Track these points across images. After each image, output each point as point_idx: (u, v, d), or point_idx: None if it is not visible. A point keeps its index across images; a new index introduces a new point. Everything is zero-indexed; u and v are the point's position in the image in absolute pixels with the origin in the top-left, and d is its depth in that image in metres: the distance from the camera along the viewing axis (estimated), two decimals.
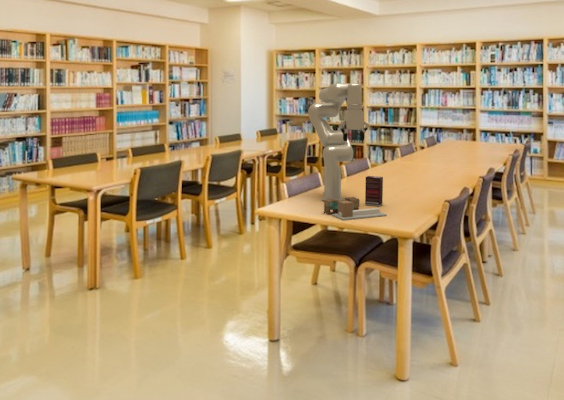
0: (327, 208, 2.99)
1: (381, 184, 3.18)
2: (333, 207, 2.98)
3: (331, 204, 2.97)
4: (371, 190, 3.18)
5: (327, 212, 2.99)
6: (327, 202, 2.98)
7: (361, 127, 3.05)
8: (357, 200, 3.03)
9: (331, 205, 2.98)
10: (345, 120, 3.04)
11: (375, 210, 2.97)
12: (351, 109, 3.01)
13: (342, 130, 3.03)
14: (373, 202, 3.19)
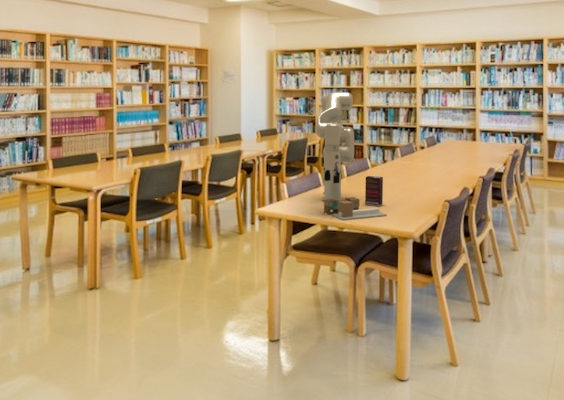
0: (327, 208, 2.99)
1: (381, 184, 3.18)
2: (333, 207, 2.98)
3: (331, 204, 2.97)
4: (371, 190, 3.18)
5: (327, 212, 2.99)
6: (327, 202, 2.98)
7: (331, 169, 2.93)
8: (357, 200, 3.03)
9: (331, 205, 2.98)
10: None
11: (375, 210, 2.97)
12: None
13: (324, 169, 3.03)
14: (373, 202, 3.19)
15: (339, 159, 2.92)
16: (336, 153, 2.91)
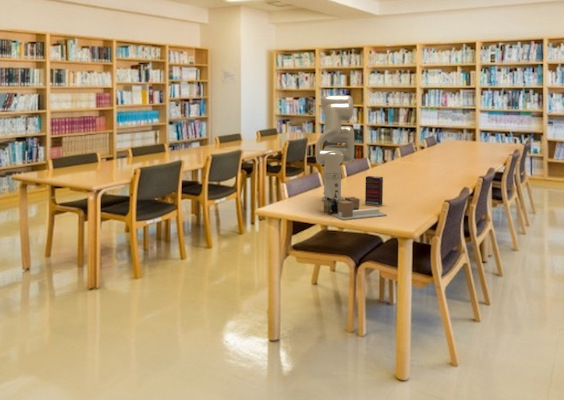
0: (326, 208, 3.00)
1: (381, 184, 3.18)
2: None
3: (331, 204, 2.97)
4: (371, 190, 3.18)
5: (327, 212, 3.00)
6: (327, 202, 2.99)
7: (331, 197, 2.96)
8: (357, 200, 3.03)
9: (331, 205, 2.98)
10: None
11: (375, 210, 2.97)
12: None
13: (325, 198, 3.05)
14: (373, 202, 3.19)
15: (339, 187, 2.95)
16: (336, 181, 2.94)
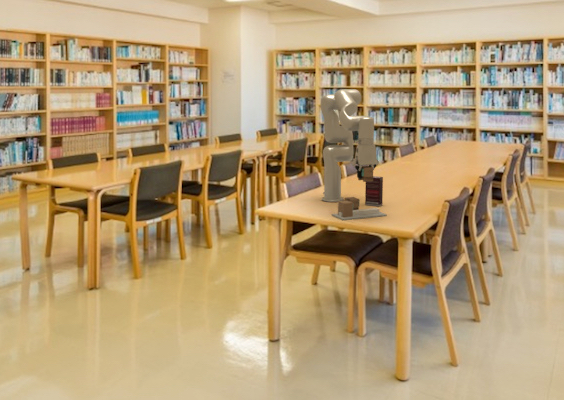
0: None
1: (381, 184, 3.18)
2: None
3: None
4: (371, 190, 3.18)
5: None
6: None
7: None
8: (357, 200, 3.03)
9: None
10: None
11: (375, 210, 2.97)
12: None
13: None
14: (373, 202, 3.19)
15: (358, 153, 2.88)
16: (357, 146, 2.89)
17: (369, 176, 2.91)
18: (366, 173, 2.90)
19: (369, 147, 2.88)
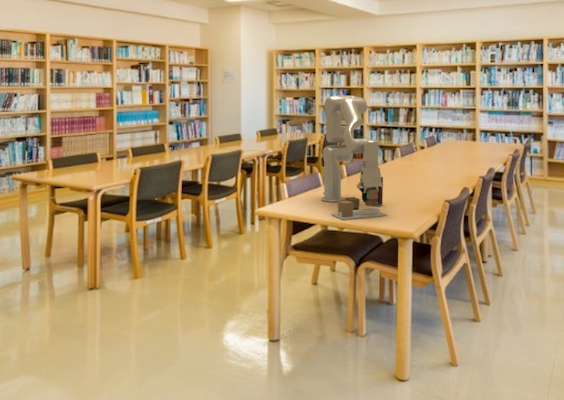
0: None
1: None
2: None
3: None
4: None
5: None
6: None
7: None
8: (357, 200, 3.03)
9: None
10: None
11: (375, 210, 2.97)
12: None
13: None
14: None
15: (363, 176, 2.91)
16: (362, 169, 2.92)
17: (374, 198, 2.94)
18: (371, 195, 2.93)
19: (374, 170, 2.91)
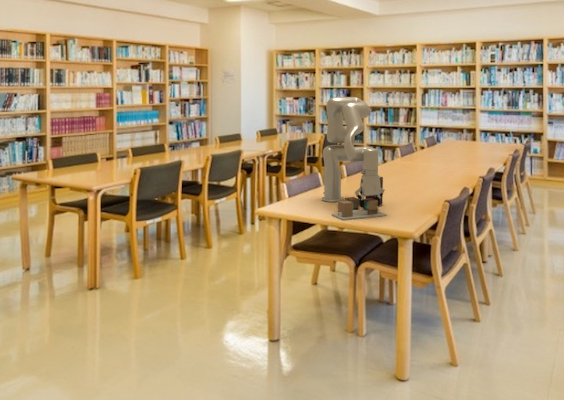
0: None
1: (381, 184, 3.18)
2: (364, 206, 2.97)
3: None
4: None
5: None
6: None
7: None
8: (357, 200, 3.03)
9: None
10: None
11: None
12: None
13: None
14: None
15: (363, 184, 2.92)
16: (362, 177, 2.93)
17: (374, 209, 2.95)
18: (371, 206, 2.94)
19: (373, 178, 2.92)
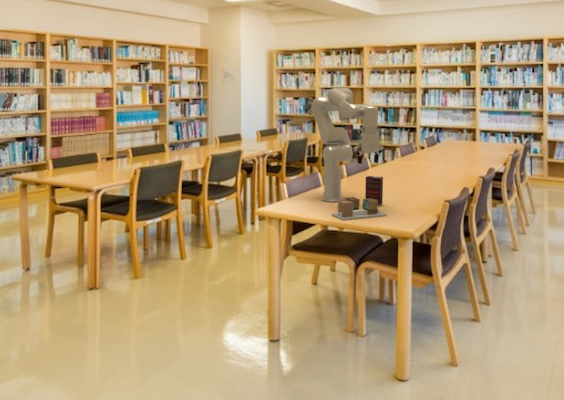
0: None
1: (381, 184, 3.18)
2: (364, 206, 2.97)
3: (363, 202, 2.98)
4: (371, 190, 3.18)
5: None
6: None
7: None
8: (357, 200, 3.03)
9: (363, 203, 2.98)
10: None
11: None
12: None
13: None
14: None
15: (362, 141, 2.98)
16: (361, 134, 2.98)
17: (374, 209, 2.95)
18: (371, 206, 2.94)
19: (372, 135, 2.98)
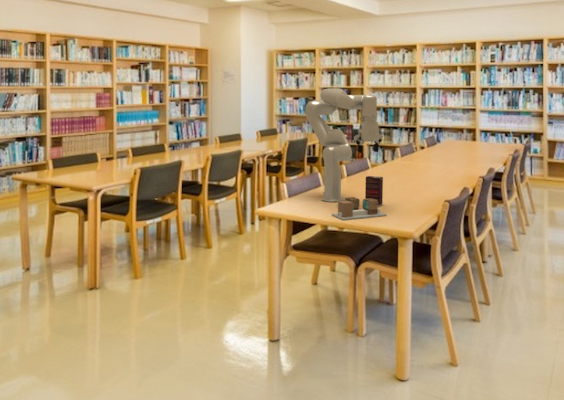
0: None
1: (381, 184, 3.18)
2: (364, 206, 2.97)
3: (363, 202, 2.98)
4: (371, 190, 3.18)
5: None
6: None
7: None
8: (357, 200, 3.03)
9: (363, 203, 2.98)
10: None
11: None
12: None
13: None
14: None
15: (362, 130, 3.02)
16: (361, 124, 3.03)
17: (374, 209, 2.95)
18: (371, 206, 2.94)
19: (372, 124, 3.02)
